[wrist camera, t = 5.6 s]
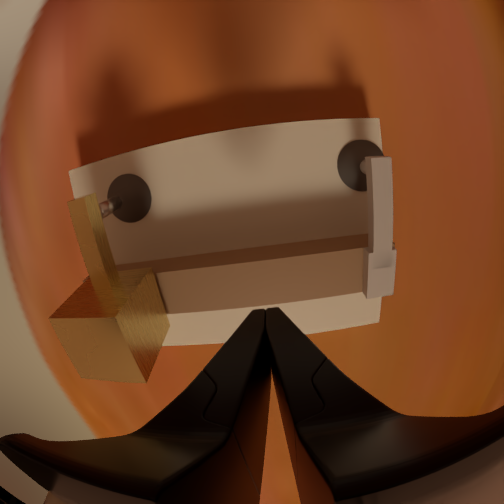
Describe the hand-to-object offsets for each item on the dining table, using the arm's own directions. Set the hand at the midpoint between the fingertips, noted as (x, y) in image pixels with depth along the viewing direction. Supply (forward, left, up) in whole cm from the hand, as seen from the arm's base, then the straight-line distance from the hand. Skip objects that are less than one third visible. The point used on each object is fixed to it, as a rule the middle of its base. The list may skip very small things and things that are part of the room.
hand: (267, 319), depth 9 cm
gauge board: (+1, -1, -5) cm, 5 cm away
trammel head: (+6, -2, -4) cm, 7 cm away
